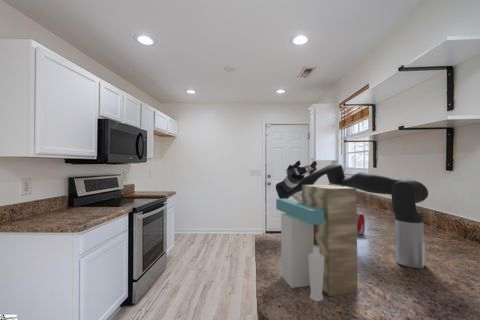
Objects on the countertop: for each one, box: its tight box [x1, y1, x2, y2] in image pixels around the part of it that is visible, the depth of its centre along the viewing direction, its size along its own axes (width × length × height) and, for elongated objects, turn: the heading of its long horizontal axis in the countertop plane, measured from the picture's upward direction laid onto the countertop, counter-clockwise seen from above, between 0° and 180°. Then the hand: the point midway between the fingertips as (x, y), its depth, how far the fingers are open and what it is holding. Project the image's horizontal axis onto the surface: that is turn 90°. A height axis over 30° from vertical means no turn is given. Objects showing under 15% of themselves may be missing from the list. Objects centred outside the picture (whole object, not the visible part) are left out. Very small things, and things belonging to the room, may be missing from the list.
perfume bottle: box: [308, 245, 324, 302], centre depth 69 cm, size 5×4×15 cm
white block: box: [280, 213, 314, 289], centre depth 79 cm, size 8×8×22 cm
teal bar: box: [275, 198, 324, 225], centre depth 80 cm, size 26×4×4 cm, turn 14°
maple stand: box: [301, 184, 359, 297], centre depth 79 cm, size 16×10×32 cm, turn 14°
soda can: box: [357, 211, 366, 235], centre depth 136 cm, size 7×7×12 cm
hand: (307, 162), depth 111 cm, fingers open, 8 cm apart
